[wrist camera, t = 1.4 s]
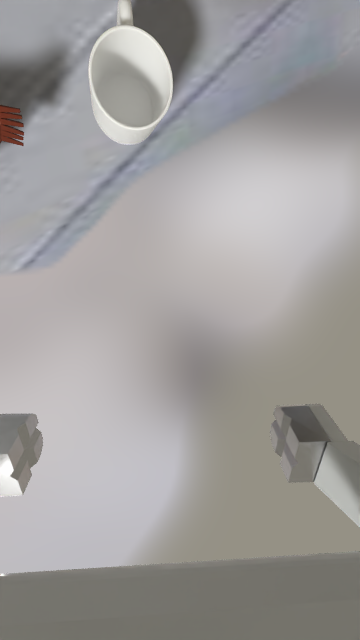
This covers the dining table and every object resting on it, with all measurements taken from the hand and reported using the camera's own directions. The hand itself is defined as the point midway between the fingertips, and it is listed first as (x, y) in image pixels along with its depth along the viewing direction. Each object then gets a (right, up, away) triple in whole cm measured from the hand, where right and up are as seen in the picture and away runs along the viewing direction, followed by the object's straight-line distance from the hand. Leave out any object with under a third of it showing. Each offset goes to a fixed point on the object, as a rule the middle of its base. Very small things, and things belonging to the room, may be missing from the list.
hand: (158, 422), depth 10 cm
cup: (-7, +33, +27) cm, 43 cm away
